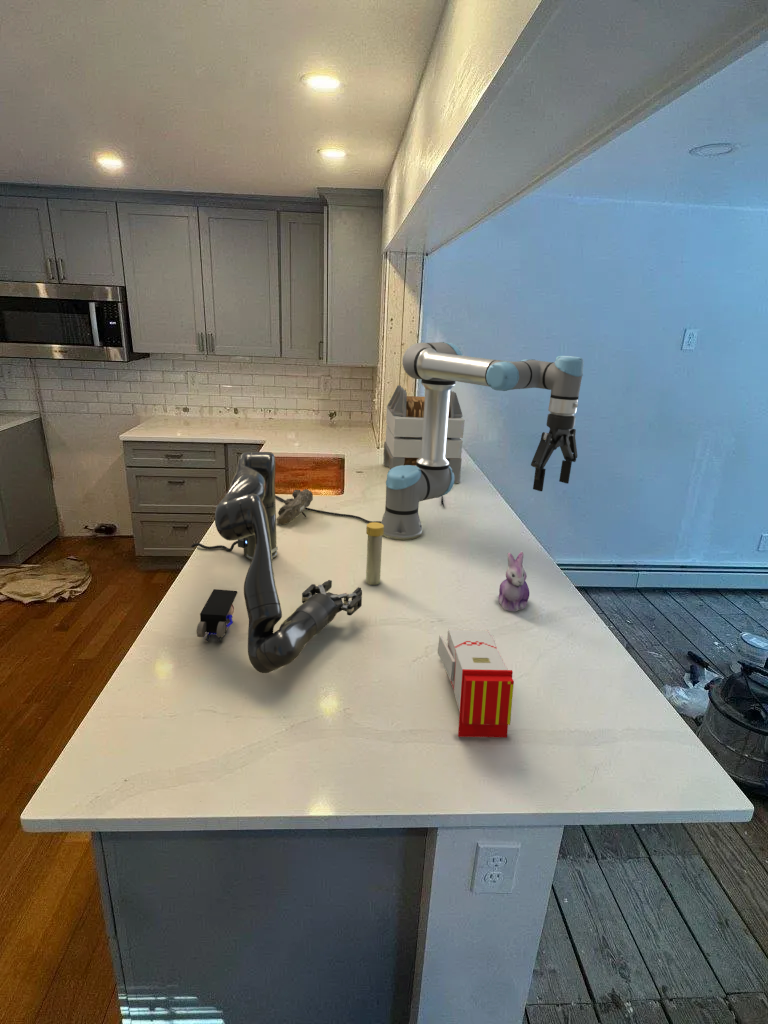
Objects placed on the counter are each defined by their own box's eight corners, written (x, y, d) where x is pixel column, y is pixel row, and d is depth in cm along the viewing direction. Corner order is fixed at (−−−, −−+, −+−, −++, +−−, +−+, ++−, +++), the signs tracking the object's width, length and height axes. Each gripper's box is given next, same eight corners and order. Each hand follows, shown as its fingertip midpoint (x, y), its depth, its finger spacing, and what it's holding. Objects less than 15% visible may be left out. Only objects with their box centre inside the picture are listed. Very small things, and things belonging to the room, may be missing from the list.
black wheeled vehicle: (226, 651, 131) (240, 612, 144) (223, 625, 127) (238, 587, 141) (197, 650, 130) (213, 611, 144) (193, 624, 127) (210, 586, 140)
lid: (379, 529, 162) (379, 521, 161) (386, 535, 158) (386, 527, 157) (363, 531, 160) (363, 523, 159) (370, 537, 156) (370, 529, 155)
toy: (488, 613, 130) (523, 677, 101) (484, 667, 133) (517, 744, 104) (435, 612, 130) (455, 676, 101) (432, 666, 133) (451, 743, 103)
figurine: (511, 616, 149) (518, 564, 143) (487, 598, 157) (493, 549, 152) (539, 609, 153) (547, 558, 148) (514, 592, 161) (521, 544, 156)
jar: (376, 578, 167) (378, 523, 161) (382, 584, 163) (384, 528, 157) (363, 580, 165) (365, 525, 159) (369, 586, 162) (371, 530, 156)
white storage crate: (382, 463, 289) (386, 382, 275) (445, 464, 293) (451, 384, 279) (390, 482, 257) (394, 392, 243) (460, 483, 261) (468, 394, 247)
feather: (441, 490, 254) (443, 487, 253) (443, 509, 227) (446, 505, 227) (438, 488, 254) (440, 484, 253) (440, 506, 227) (443, 503, 226)
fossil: (282, 495, 221) (310, 474, 216) (298, 513, 224) (326, 493, 219) (266, 520, 201) (297, 498, 196) (284, 540, 204) (315, 519, 199)
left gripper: (340, 608, 128) (370, 579, 142) (287, 594, 133) (321, 568, 148) (340, 637, 131) (369, 606, 145) (287, 622, 136) (320, 593, 150)
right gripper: (548, 419, 148) (537, 497, 155) (597, 412, 164) (585, 482, 171) (524, 415, 153) (514, 490, 160) (573, 408, 169) (563, 476, 176)
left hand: (345, 586), depth 146 cm, fingers open, 8 cm apart
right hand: (551, 486), depth 166 cm, fingers open, 13 cm apart
